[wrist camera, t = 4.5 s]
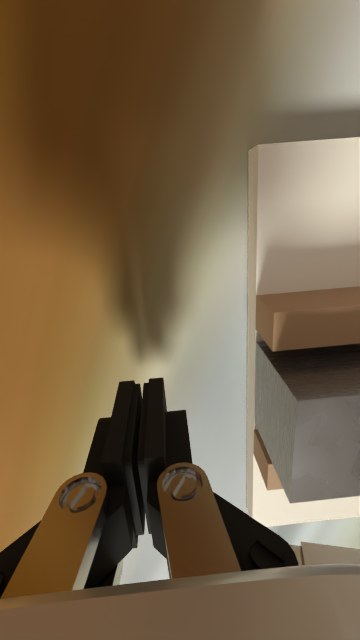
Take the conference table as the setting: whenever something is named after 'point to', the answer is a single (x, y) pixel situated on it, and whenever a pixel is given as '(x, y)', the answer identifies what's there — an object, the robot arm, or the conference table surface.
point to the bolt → (311, 418)
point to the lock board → (299, 285)
